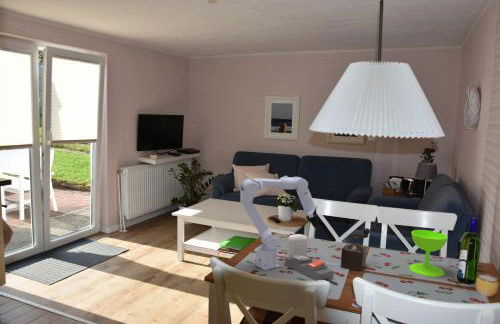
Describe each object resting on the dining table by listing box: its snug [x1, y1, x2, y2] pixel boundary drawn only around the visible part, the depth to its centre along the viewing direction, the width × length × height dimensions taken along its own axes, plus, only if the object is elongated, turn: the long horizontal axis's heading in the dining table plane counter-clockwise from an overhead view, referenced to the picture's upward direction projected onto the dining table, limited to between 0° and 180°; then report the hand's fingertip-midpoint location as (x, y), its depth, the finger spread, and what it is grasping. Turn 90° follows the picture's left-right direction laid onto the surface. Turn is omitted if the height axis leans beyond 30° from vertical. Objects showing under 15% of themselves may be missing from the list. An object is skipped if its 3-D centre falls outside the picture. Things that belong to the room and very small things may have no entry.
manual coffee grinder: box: [340, 227, 371, 272], centre depth 199 cm, size 16×11×18 cm
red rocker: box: [308, 259, 325, 268], centre depth 184 cm, size 6×4×1 cm, turn 125°
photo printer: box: [286, 233, 309, 258], centre depth 207 cm, size 10×4×12 cm, turn 98°
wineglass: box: [408, 229, 448, 278], centre depth 195 cm, size 16×16×18 cm
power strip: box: [284, 255, 339, 286], centre depth 186 cm, size 8×30×4 cm, turn 35°
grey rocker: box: [294, 255, 310, 261], centre depth 192 cm, size 6×4×1 cm, turn 125°
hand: (316, 224), depth 199 cm, fingers open, 7 cm apart
